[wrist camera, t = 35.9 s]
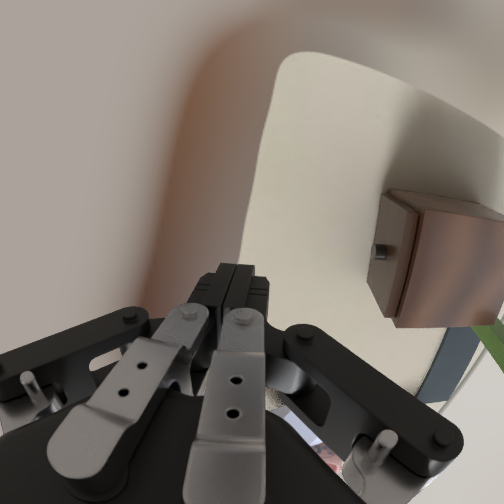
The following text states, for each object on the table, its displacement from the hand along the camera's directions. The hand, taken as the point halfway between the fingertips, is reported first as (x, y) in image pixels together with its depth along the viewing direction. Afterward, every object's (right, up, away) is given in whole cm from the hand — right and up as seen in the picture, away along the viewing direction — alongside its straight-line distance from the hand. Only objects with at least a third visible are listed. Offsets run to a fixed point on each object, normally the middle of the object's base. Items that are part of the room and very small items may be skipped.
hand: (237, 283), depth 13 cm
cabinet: (+22, +3, +18) cm, 29 cm away
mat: (+33, -15, +24) cm, 43 cm away
